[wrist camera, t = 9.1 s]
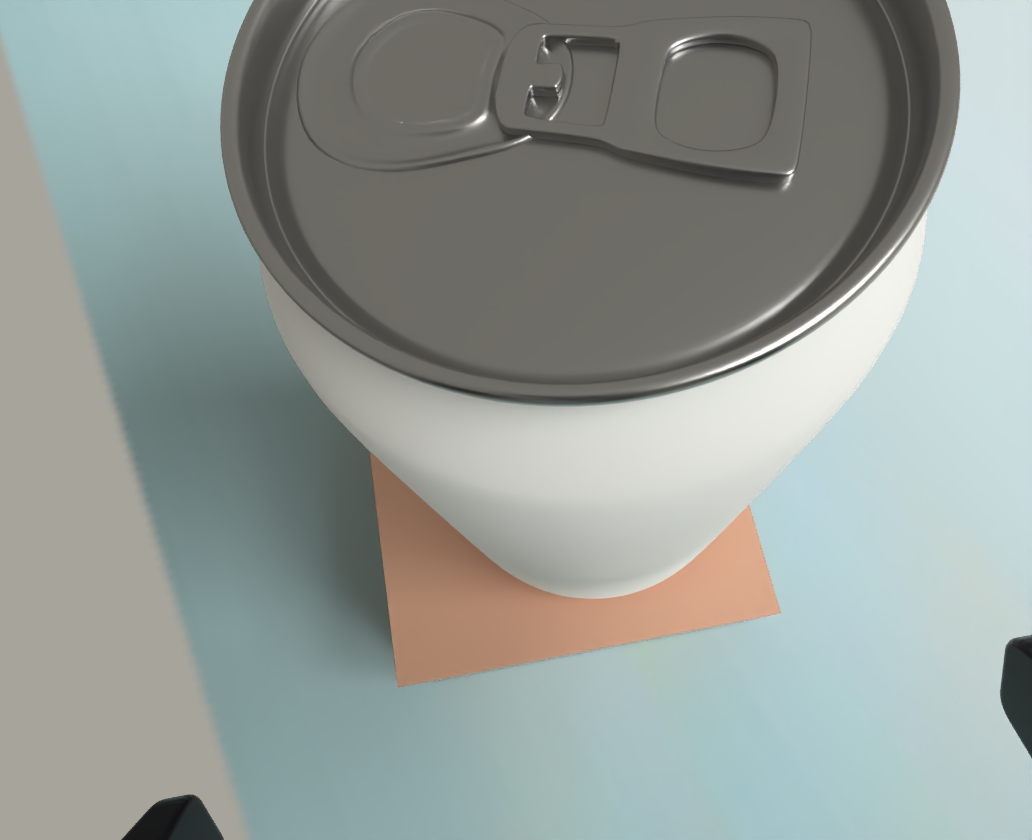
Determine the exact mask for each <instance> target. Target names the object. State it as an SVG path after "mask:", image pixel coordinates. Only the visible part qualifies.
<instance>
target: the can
mask: <svg viewBox="0 0 1032 840" xmlns="http://www.w3.org/2000/svg"><path fill="white" fill-rule="evenodd" d="M959 100H960V66H959V54H958V47H957V40H956V35H955V30H954V26H953V22H952V18H951V15H950V11H949V8H948V5H947V3H946V0H254V1H253V2H252V4H251V6H250V8H249V10H248V12H247V14H246V16H245V19H244V21H243V23H242V25H241V28H240V30H239V33H238V35H237V38H236V41H235V44H234V46H233V50H232V53H231V56H230V60H229V63H228V68H227V72H226V76H225V82H224V87H223V95H222V104H221V126H220V130H221V148H222V158H223V164H224V170H225V175H226V179H227V184H228V188H229V191H230V195H231V198H232V201H233V204H234V207H235V210H236V212H237V215H238V217H239V220H240V222H241V224H242V227H243V229H244V231H245V233H246V235H247V237H248V239H249V241H250V243H251V245H252V246H253V248H254V250H255V252H256V253H257V255H258V257H259V262H260V268H261V274H262V279H263V283H264V287H265V292H266V296H267V299H268V303H269V306H270V309H271V312H272V315H273V318H274V321H275V323H276V325H277V328H278V330H279V333H280V335H281V337H282V339H283V341H284V343H285V345H286V347H287V349H288V351H289V353H290V354H291V356H292V358H293V360H294V361H295V363H296V364H297V366H298V368H299V369H300V371H301V372H302V374H303V375H304V377H305V378H306V379H307V381H308V382H309V384H310V385H311V387H312V388H313V389H314V391H315V392H316V394H317V395H318V396H319V398H320V399H321V400H322V401H323V403H324V404H325V405H326V406H327V407H328V409H329V410H330V411H331V412H332V413H333V414H334V415H335V416H336V417H337V418H338V420H339V421H340V422H341V423H342V424H343V425H344V426H345V427H346V428H347V429H348V430H349V431H350V432H351V433H352V434H353V435H354V436H355V437H356V438H357V439H358V440H359V441H360V442H361V443H362V444H363V445H364V446H365V447H366V448H367V449H368V450H369V451H370V452H371V453H372V454H373V455H374V456H376V457H377V458H378V459H379V460H380V461H381V462H382V463H383V464H384V465H385V466H386V467H387V468H388V469H389V470H390V471H392V472H393V473H394V474H395V475H396V476H397V477H398V478H399V479H400V480H401V481H403V482H404V483H405V484H406V485H407V486H408V487H409V488H410V489H411V490H412V491H414V492H415V493H416V494H417V495H418V496H419V497H420V498H421V499H422V500H424V501H425V502H426V503H427V504H428V505H429V506H430V507H431V508H432V509H434V510H435V511H436V512H437V513H438V514H439V515H440V516H441V517H443V518H444V519H445V520H446V521H447V522H448V523H449V524H450V525H452V526H453V527H454V528H455V529H456V530H457V531H458V532H460V533H461V534H462V535H463V536H464V537H465V538H466V539H467V540H469V541H470V542H471V543H472V544H473V545H474V546H475V547H477V548H478V549H479V550H480V551H481V552H482V553H484V554H485V555H486V556H487V557H488V558H489V559H491V560H492V561H493V562H494V563H496V564H497V565H498V566H499V567H501V568H502V569H504V570H505V571H506V572H508V573H509V574H511V575H512V576H514V577H516V578H517V579H519V580H521V581H523V582H525V583H526V584H528V585H531V586H533V587H535V588H538V589H540V590H543V591H546V592H549V593H553V594H556V595H561V596H566V597H572V598H582V599H602V598H612V597H618V596H624V595H628V594H632V593H635V592H638V591H641V590H644V589H647V588H649V587H652V586H654V585H656V584H658V583H660V582H662V581H664V580H665V579H667V578H669V577H670V576H672V575H673V574H675V573H676V572H678V571H679V570H680V569H682V568H683V567H684V566H686V565H687V564H688V563H689V562H691V561H692V560H693V559H694V558H695V557H696V556H697V555H698V554H699V553H701V552H702V551H703V550H704V549H705V548H706V547H707V546H708V545H709V544H710V543H711V542H712V541H713V540H714V539H715V538H716V537H717V536H718V535H719V534H720V533H721V532H722V531H723V530H724V529H725V528H726V527H727V526H728V525H729V524H730V523H731V522H732V521H733V520H734V519H735V518H736V517H737V516H738V515H739V514H740V513H741V512H742V511H743V510H744V509H745V508H746V507H747V506H748V505H749V504H750V503H751V502H752V501H753V500H754V499H755V498H756V497H757V496H758V495H759V494H760V493H761V492H762V491H763V490H764V489H765V488H766V487H767V486H768V485H769V484H770V483H771V482H772V481H773V479H774V478H775V477H776V476H777V475H778V474H779V473H780V472H781V471H782V470H783V469H784V468H785V467H786V466H787V465H788V464H789V463H790V462H791V461H792V460H793V459H794V458H795V457H796V456H797V455H798V454H799V453H800V452H801V451H802V450H803V448H804V447H805V446H806V445H807V444H808V443H809V442H810V441H811V440H812V439H813V438H814V437H815V436H816V435H817V434H818V433H819V431H820V430H821V429H822V428H823V427H824V426H825V425H826V424H827V423H828V422H829V421H830V419H831V418H832V417H833V416H834V415H835V414H836V413H837V411H838V410H839V409H840V408H841V407H842V406H843V404H844V403H845V402H846V401H847V400H848V398H849V397H850V396H851V395H852V394H853V393H854V391H855V390H856V389H857V388H858V386H859V385H860V384H861V382H862V381H863V380H864V379H865V377H866V376H867V374H868V373H869V371H870V370H871V369H872V367H873V366H874V364H875V363H876V361H877V359H878V358H879V356H880V354H881V353H882V351H883V350H884V348H885V346H886V345H887V343H888V341H889V339H890V338H891V336H892V334H893V332H894V330H895V329H896V327H897V325H898V323H899V321H900V319H901V317H902V315H903V312H904V310H905V308H906V306H907V303H908V301H909V298H910V295H911V293H912V290H913V287H914V284H915V281H916V278H917V274H918V270H919V266H920V262H921V257H922V252H923V247H924V239H925V232H926V224H927V210H928V206H929V204H930V202H931V200H932V198H933V196H934V194H935V192H936V190H937V188H938V185H939V183H940V180H941V178H942V175H943V173H944V170H945V167H946V164H947V161H948V158H949V155H950V151H951V147H952V144H953V140H954V135H955V130H956V125H957V119H958V111H959Z"/></svg>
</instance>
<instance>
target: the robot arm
mask: <svg viewBox="0 0 1032 840" xmlns="http://www.w3.org/2000/svg"><path fill="white" fill-rule="evenodd" d="M1000 697H1001V702H1002V706H1003V709H1004V711H1005V713H1006V715H1007V717H1008V719H1009V721H1010V723H1011V724H1012V726H1013V728H1014V729H1015V731H1016V733H1017V734H1018V736H1019V738H1020V739H1021V741H1022V743H1023V744H1024V746H1025V748H1026V749H1027V751H1028V753H1029V754H1030V756H1031V758H1032V635H1029V636H1023V637H1018V638H1014V639H1012V640H1010V641H1009V643H1008V644H1007V645H1006V648H1005V655H1004V664H1003V672H1002V681H1001V689H1000ZM122 840H224V838H223V836H222V834H221V833H220V831H219V830H218V828H217V826H216V825H215V823H214V821H213V819H212V818H211V816H210V814H209V813H208V811H207V809H206V808H205V806H204V804H203V803H202V801H201V800H200V799H199V798H198V797H196V796H195V795H184V796H178V797H173V798H168V799H164V800H161V801H159V802H157V803H155V804H154V805H153V806H152V807H151V808H150V809H149V810H148V811H147V812H146V813H145V814H144V815H143V817H142V818H141V819H140V820H139V821H138V822H137V823H136V824H135V825H134V827H132V829H131V830H130V831H129V832H128V833H127V834H126V835H125V836H124V837H123V839H122Z"/></svg>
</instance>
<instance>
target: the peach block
mask: <svg viewBox="0 0 1032 840" xmlns="http://www.w3.org/2000/svg"><path fill="white" fill-rule="evenodd" d="M369 452H370V451H369ZM370 460H371V468H372V477H373V485H374V493H375V501H376V510H377V518H378V526H379V535H380V543H381V551H382V560H383V568H384V576H385V585H386V593H387V601H388V610H389V618H390V626H391V634H392V643H393V651H394V659H395V668H396V676H397V684H398V687H403V686H409V685H415V684H422V683H428V682H434V681H440V680H445V679H450V678H456V677H461V676H466V675H471V674H476V673H481V672H487V671H492V670H497V669H502V668H507V667H513V666H518V665H523V664H528V663H533V662H538V661H544V660H549V659H554V658H559V657H564V656H569V655H575V654H580V653H585V652H590V651H595V650H601V649H606V648H611V647H616V646H621V645H626V644H632V643H637V642H642V641H647V640H652V639H657V638H663V637H668V636H673V635H678V634H683V633H688V632H694V631H699V630H704V629H709V628H714V627H720V626H725V625H730V624H735V623H740V622H745V621H750V620H754V619H758V618H762V617H767V616H771V615H775V614H780V613H781V612H780V608H779V605H778V602H777V598H776V595H775V591H774V588H773V585H772V581H771V578H770V574H769V571H768V568H767V564H766V561H765V557H764V554H763V551H762V547H761V544H760V540H759V537H758V534H757V530H756V527H755V523H754V520H753V516H752V513H751V510H750V506H749V505H748V506H747V507H746V508H745V509H744V510H743V511H742V512H741V513H740V514H739V515H738V516H737V517H736V518H735V519H734V520H733V521H732V522H731V523H730V524H729V525H728V526H727V527H726V528H725V529H724V530H723V531H722V532H721V533H720V534H719V535H718V536H717V537H716V538H715V539H714V540H713V541H712V542H711V543H710V544H709V545H708V546H707V547H706V548H705V549H704V550H703V551H702V552H701V553H699V554H698V555H697V556H696V557H695V558H694V559H693V560H692V561H691V562H689V563H688V564H687V565H686V566H684V567H683V568H682V569H680V570H679V571H678V572H676V573H675V574H673V575H672V576H670V577H669V578H667V579H665V580H664V581H662V582H660V583H658V584H656V585H654V586H652V587H649V588H647V589H644V590H641V591H638V592H635V593H632V594H628V595H624V596H618V597H612V598H602V599H582V598H572V597H566V596H561V595H556V594H553V593H549V592H546V591H543V590H540V589H538V588H535V587H533V586H531V585H528V584H526V583H525V582H523V581H521V580H519V579H517V578H516V577H514V576H512V575H511V574H509V573H508V572H506V571H505V570H504V569H502V568H501V567H499V566H498V565H497V564H496V563H494V562H493V561H492V560H491V559H489V558H488V557H487V556H486V555H485V554H484V553H482V552H481V551H480V550H479V549H478V548H477V547H475V546H474V545H473V544H472V543H471V542H470V541H469V540H467V539H466V538H465V537H464V536H463V535H462V534H461V533H460V532H458V531H457V530H456V529H455V528H454V527H453V526H452V525H450V524H449V523H448V522H447V521H446V520H445V519H444V518H443V517H441V516H440V515H439V514H438V513H437V512H436V511H435V510H434V509H432V508H431V507H430V506H429V505H428V504H427V503H426V502H425V501H424V500H422V499H421V498H420V497H419V496H418V495H417V494H416V493H415V492H414V491H412V490H411V489H410V488H409V487H408V486H407V485H406V484H405V483H404V482H403V481H401V480H400V479H399V478H398V477H397V476H396V475H395V474H394V473H393V472H392V471H390V470H389V469H388V468H387V467H386V466H385V465H384V464H383V463H382V462H381V461H380V460H379V459H378V458H377V457H376V456H374V455H373V454H372V453H371V452H370Z"/></svg>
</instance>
